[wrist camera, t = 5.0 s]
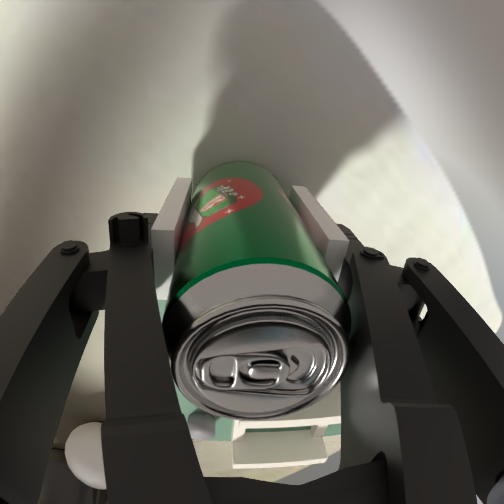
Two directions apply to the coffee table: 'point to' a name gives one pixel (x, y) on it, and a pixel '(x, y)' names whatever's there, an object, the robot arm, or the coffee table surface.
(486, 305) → the coffee table surface
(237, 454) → the board
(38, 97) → the coffee table surface
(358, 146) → the coffee table surface
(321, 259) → the soda can
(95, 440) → the seamed sphere
